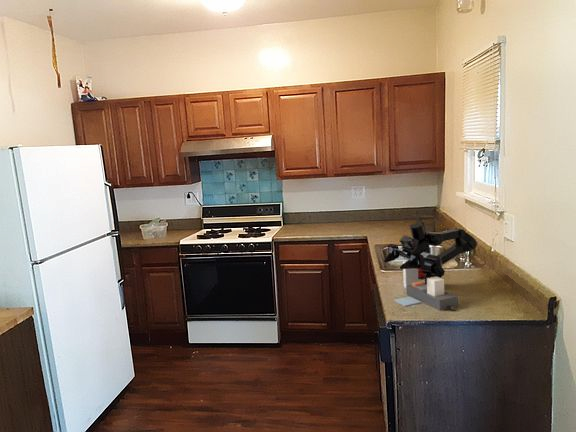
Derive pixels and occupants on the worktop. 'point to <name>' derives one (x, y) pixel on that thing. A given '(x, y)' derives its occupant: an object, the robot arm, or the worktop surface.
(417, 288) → the gray recessed block
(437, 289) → the block
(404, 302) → the mat
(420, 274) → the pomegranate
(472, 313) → the worktop surface
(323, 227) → the worktop surface
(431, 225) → the clothes iron
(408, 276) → the skincare box
